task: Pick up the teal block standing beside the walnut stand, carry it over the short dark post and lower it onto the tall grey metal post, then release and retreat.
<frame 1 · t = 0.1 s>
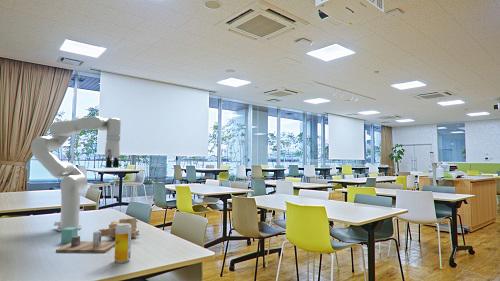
hand: (112, 167, 187), 37 cm above the table, tool pointing down, fingers open, 9 cm apart
teal block: (69, 241, 157), on the table
tall post: (96, 248, 147), resting on stand
toy: (118, 238, 167), on the table
beer can: (122, 261, 129), on the table
stand: (88, 248, 147), on the table
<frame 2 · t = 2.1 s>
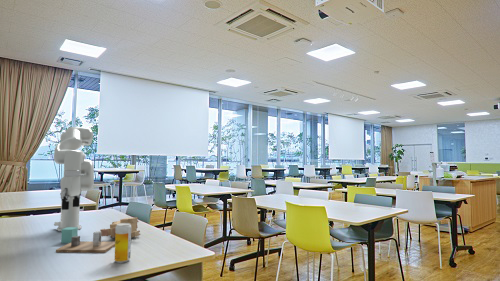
hand: (70, 208, 158), 17 cm above the table, tool pointing down, fingers open, 9 cm apart
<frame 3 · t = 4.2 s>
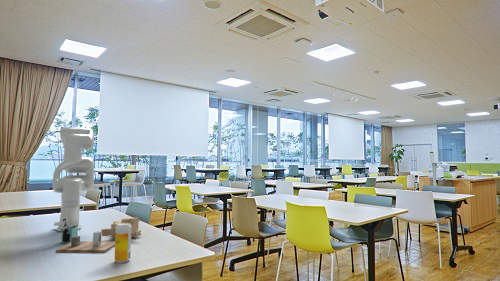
hand: (69, 239, 158), 1 cm above the table, tool pointing down, fingers closed on teal block, 5 cm apart
teal block: (69, 241, 157), on the table, touching gripper
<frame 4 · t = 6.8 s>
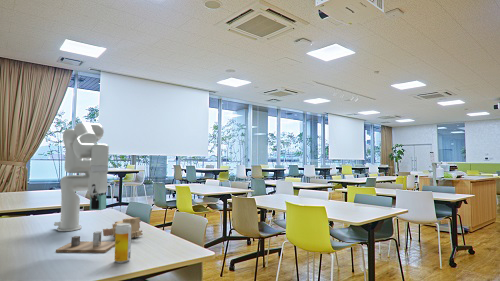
hand: (97, 207, 148), 19 cm above the table, tool pointing down, fingers closed on teal block, 5 cm apart
teal block: (97, 209, 148), point 18 cm above the table, touching gripper
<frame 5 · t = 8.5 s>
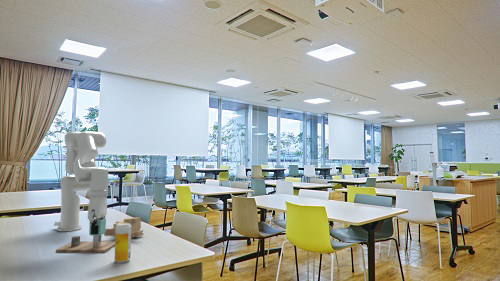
hand: (97, 232, 147), 7 cm above the table, tool pointing down, fingers closed on teal block, 5 cm apart
teal block: (97, 234, 147), point 7 cm above the table, touching gripper
when the fingers open (4 cm above the table, at t = 9.9 s): teal block drops 2 cm, resting on tall post.
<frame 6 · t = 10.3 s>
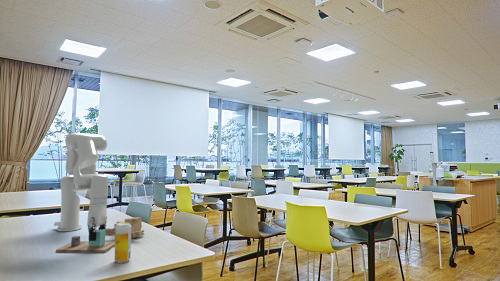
hand: (97, 237, 147), 5 cm above the table, tool pointing down, fingers open, 9 cm apart
teal block: (96, 244, 147), point 2 cm above the table, touching tall post
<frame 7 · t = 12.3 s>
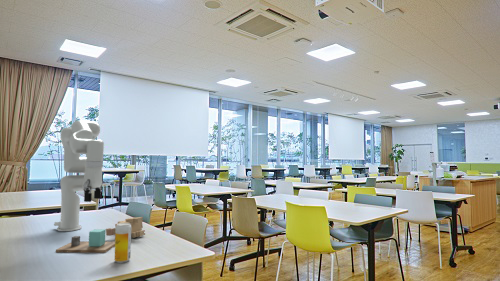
hand: (92, 200, 152), 22 cm above the table, tool pointing down, fingers open, 9 cm apart
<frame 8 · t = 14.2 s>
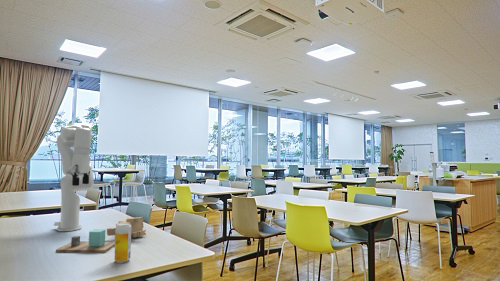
hand: (80, 184, 162), 28 cm above the table, tool pointing down, fingers open, 9 cm apart
at the end: teal block 0.0 cm from the tall post (horizontally); teal block point 1.5 cm above the table; the gripper is holding nothing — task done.
